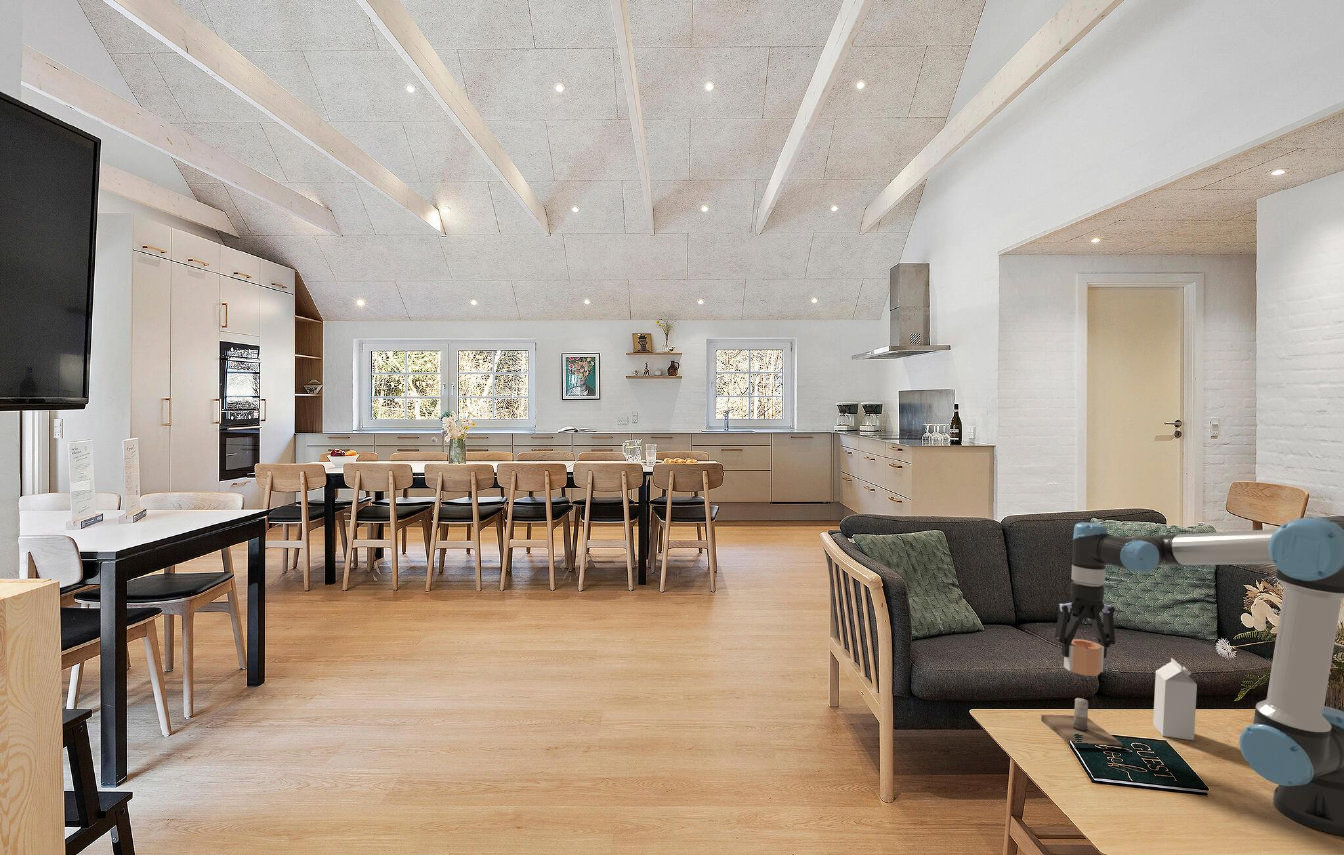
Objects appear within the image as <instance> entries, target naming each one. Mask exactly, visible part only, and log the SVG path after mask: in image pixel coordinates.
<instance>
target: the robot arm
mask: <svg viewBox="0 0 1344 855" xmlns="http://www.w3.org/2000/svg"><path fill="white" fill-rule="evenodd" d="M1071 561H1072V562H1071V577H1070V578H1071V580H1072V581H1071V582H1070V600H1069V602H1067V603H1062V602H1059V603H1058V605H1057V606H1058V608H1057V609H1058V614H1057V615H1058V616H1057V621H1056V627H1055V632H1054V640H1055V641H1056V642H1059V643H1061V655H1062V656H1063V658H1064V659H1063V668H1064V669H1065V670H1067V671H1069V672H1072V670H1073V651H1074V646H1072V645H1071V642H1072V640H1073V639H1075V638H1074V637H1075V636H1076V633H1077V631H1078V629H1079V626H1080V625H1081V623H1082V622H1084V621H1083V620H1087V619H1089V620H1090V622H1091V625H1092V627H1093V631H1094V634H1095V636H1096V639H1097V642H1098V643H1097V644H1099V645H1100V646H1102V651H1101V669H1100V673H1104V659H1106V658H1107V655H1108V654H1107V652H1108V650H1107V649H1108V648H1110V647H1111V645H1115V644H1116V635H1115V634H1116V633H1115V624H1114V623H1115V620H1114V614H1115V610H1116V607H1115V606H1113V605H1110V604H1109V603H1107V604H1105V603H1104V601H1103V600H1104V598H1105V586H1104V584H1105V583H1106V565H1108V566H1112V567H1117V568H1120V569H1124V570H1129V571H1131V572H1137V573H1138V572H1140V573H1144V574H1146V573H1147V574H1148V573H1151V572H1152V571H1153V570H1154V569H1156V568H1157V567H1162V566H1163V567H1166V566H1167V567H1170V566H1171V567H1172V566H1202V565H1203V566H1204V565H1205V566H1207V565H1208V566H1211V565H1214V566H1215V565H1218V566H1220V565H1270V564H1271V565H1275V567H1276V572H1275V579H1276V580H1277V582H1278V583H1279V584H1280V585H1281V586H1282V587H1283V591H1282V592H1283V593H1282V600H1281V606H1280V612H1279V618H1278V625H1277V632H1276V637H1275V643H1274V649H1273V650H1274V651H1273V656H1272V657H1273V658H1272V662H1271V663H1272V664H1271V670H1270V675H1269V684H1268V690H1267V696H1266V698H1265V699H1264V700H1262V701H1259V702H1256V704H1255V709H1254V710H1255V711H1254V715H1253V722H1252V724H1251V725H1248V726H1246V727H1245V728H1244V730H1242V731H1241V734H1240V735H1239V738H1238V740H1239V742H1238V743H1239V749H1240V752H1241V755H1242V757H1243V758H1244V760H1245V761H1246V762H1247V764H1249V765H1250V768H1251V769H1252V770H1253V771H1254V772H1255V773H1256V774H1258V775H1259V776H1260V777H1262V778H1263V779H1265V780H1267V781H1269V782H1270V783H1272V784H1276V785H1277V787H1275V789H1274V791H1273V797H1272V798H1273V799H1272V800H1273V803H1272V804H1273V805H1274V807H1275V808H1276V809H1277V810H1278V811H1279V812H1281V813H1282V814H1283V815H1284V816H1286V817H1288V818H1290V819H1291V820H1293V821H1296V822H1298V823H1299V824H1301V825H1304V826H1306V827H1309V828H1311V829H1314V830H1318V831H1320V832H1324V833H1328V834H1331V835H1335V836H1336V835H1337V836H1343V837H1344V711H1343V710H1340V709H1337V708H1334V707H1330V706H1327V705H1325V703H1326V696H1327V691H1328V685H1329V679H1330V678H1329V677H1330V674H1331V673H1330V672H1331V667H1332V660H1333V654H1334V649H1335V642H1336V636H1337V630H1338V625H1339V624H1338V623H1339V617H1340V612H1341V606H1342V600H1343V599H1344V515H1334V516H1333V515H1332V516H1323V517H1321V516H1318V517H1315V516H1314V517H1313V516H1309V517H1307V516H1306V517H1301V518H1296V519H1294V520H1291V521H1288V522H1285V523H1284V524H1282V525H1280V526H1279V527H1278V528H1275V529H1274V528H1271V529H1258V530H1257V529H1255V530H1254V529H1253V530H1240V531H1239V530H1238V531H1237V530H1235V531H1220V532H1202V533H1184V534H1181V533H1180V534H1160V535H1150V536H1140V537H1139V536H1138V537H1124V536H1117V535H1112V534H1109V531H1108V527H1107V526H1106V525H1104V524H1101V523H1098V522H1097V523H1096V522H1095V523H1094V522H1086V521H1085V522H1078V523H1076V524H1075V525H1074V528H1073V538H1072V560H1071ZM1071 610H1072V612H1071ZM1101 612H1102V618H1103V624H1102V618H1101V615H1100V613H1101ZM1069 613H1071V614H1069ZM1069 617H1070V619H1069Z"/></svg>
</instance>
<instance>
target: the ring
mask: <svg viewBox="0 0 1344 855" xmlns="http://www.w3.org/2000/svg"><path fill="white" fill-rule="evenodd" d="M1071 645H1072V646H1074V651H1073V670H1072V671H1071V672H1072V673H1075V674H1078V675H1082V676H1087V677H1088V676H1089V677H1092V676H1093V677H1098V676H1099V675H1100V674H1101V672H1100V669H1101V651H1102V646H1100V645H1099V643H1097V642H1095V641H1092V640H1087V639H1076V638H1073V640H1072V642H1071Z"/></svg>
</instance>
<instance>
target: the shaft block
mask: <svg viewBox="0 0 1344 855" xmlns="http://www.w3.org/2000/svg"><path fill="white" fill-rule="evenodd" d="M1073 712H1074V715H1066V714H1065V715H1059V714H1056V715H1053V714H1041V715H1040V716H1041V718H1040V719H1041V721H1042V722H1043V723H1044V724H1045V725H1046V726H1047V727H1049V729H1050V730H1052V731H1053V732H1055V733H1056V734H1057V735H1058V736H1059V737H1061V738H1062V739H1063V740H1064V741H1065V742H1067V743H1068V744H1069V745H1070V743H1069V741H1070V740H1071V741H1073V742H1074V741H1075V742H1074V743H1088V744H1096V745H1121V746H1123V745H1124V744H1123V743H1122V742H1121V741H1119V740H1118V739H1117V738H1116V737H1114V736H1113V735H1112V734H1110V733H1109V732H1107V731H1106V730H1105V729H1104V728H1102V727H1101V726H1099V725H1098V724H1097V723H1096V722H1094V721H1093V720H1092V719H1090V718H1088V717H1089V716H1088V714H1089V700H1087V699H1084V698H1082V697H1081V698H1080V697H1077V698H1075V699H1074V711H1073ZM1075 734H1079V735H1083V736H1081V737H1083V738H1079V739H1082V740H1079V741H1082V742H1077V741H1078V740H1075V739H1078V738H1075V737H1076V736H1074V735H1075ZM1123 747H1124V746H1123Z"/></svg>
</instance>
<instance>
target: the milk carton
mask: <svg viewBox="0 0 1344 855" xmlns="http://www.w3.org/2000/svg"><path fill="white" fill-rule="evenodd" d="M1190 675H1192V672H1191V671H1190V670H1189V669H1187V667H1185V666H1182V665H1181V664H1179V662H1178V661H1176V660H1175V659H1174V658H1172V657H1170V662H1168V663H1166V664H1165V665H1163V666H1161V667H1160V668H1158V669H1156V670H1155V680H1154V681H1155V682H1154V702H1153V721H1152V722H1153V723H1152V724H1153V727H1154V728H1155V729H1156V730H1157V731H1158V733H1159V734H1160V735H1161V736H1162V737H1168V738H1174V739H1179V740H1180V739H1182V740H1189V741H1195V730H1196V729H1195V727H1196V726H1195V725H1196V709H1197V707H1196V706H1197V691H1198V690H1197V687H1198V685H1197V683H1196V682H1195V681H1194V680H1193V679H1192V678H1191V677H1189V676H1190Z"/></svg>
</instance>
